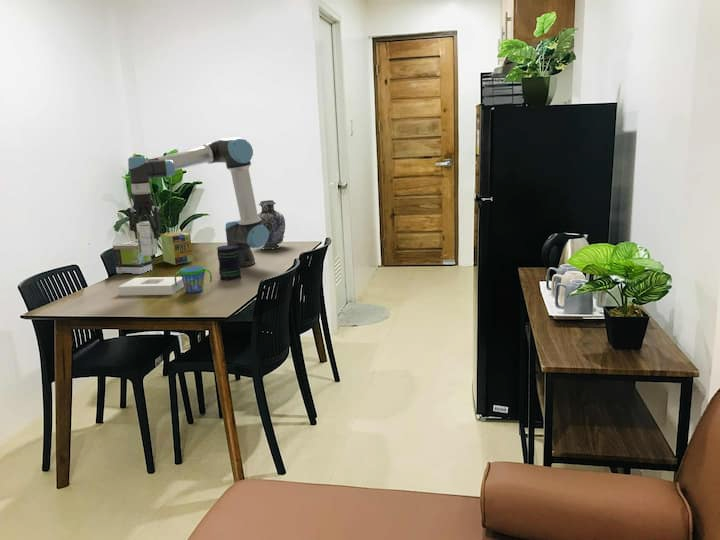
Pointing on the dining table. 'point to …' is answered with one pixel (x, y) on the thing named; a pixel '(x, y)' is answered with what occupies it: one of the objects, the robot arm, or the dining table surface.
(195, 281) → the snack cup
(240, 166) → the robot arm
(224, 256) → the storage jar
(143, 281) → the flat white box
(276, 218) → the decorative vase
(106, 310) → the dining table surface
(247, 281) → the dining table surface
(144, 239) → the syrup box
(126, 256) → the tea box
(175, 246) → the protein box
